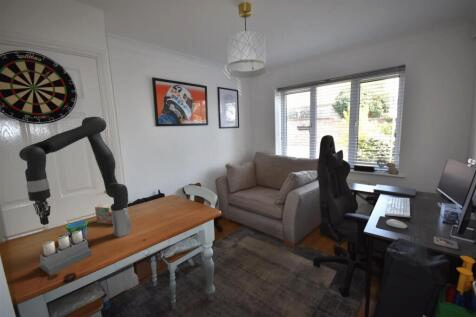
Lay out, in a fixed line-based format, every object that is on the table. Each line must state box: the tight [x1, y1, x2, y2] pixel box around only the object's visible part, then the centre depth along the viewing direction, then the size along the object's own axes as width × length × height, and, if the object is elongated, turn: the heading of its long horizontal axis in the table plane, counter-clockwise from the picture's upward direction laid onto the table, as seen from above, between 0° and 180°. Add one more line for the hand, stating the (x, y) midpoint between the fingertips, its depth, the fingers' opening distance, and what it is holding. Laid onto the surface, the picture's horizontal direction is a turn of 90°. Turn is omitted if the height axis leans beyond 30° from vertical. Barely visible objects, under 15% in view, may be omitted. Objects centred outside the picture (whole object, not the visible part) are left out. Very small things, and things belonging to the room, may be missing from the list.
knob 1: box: [42, 240, 56, 257], centre depth 103 cm, size 4×4×6 cm
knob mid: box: [57, 236, 70, 251], centre depth 108 cm, size 4×4×6 cm
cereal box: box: [94, 203, 113, 225], centre depth 155 cm, size 21×6×12 cm, turn 76°
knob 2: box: [72, 231, 83, 245], centre depth 113 cm, size 4×4×6 cm
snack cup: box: [65, 220, 88, 242], centre depth 131 cm, size 16×10×10 cm
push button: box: [59, 231, 72, 243], centre depth 120 cm, size 7×5×10 cm
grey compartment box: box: [38, 238, 93, 276], centre depth 109 cm, size 18×12×8 cm, turn 150°
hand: (44, 223), depth 101 cm, fingers closed
